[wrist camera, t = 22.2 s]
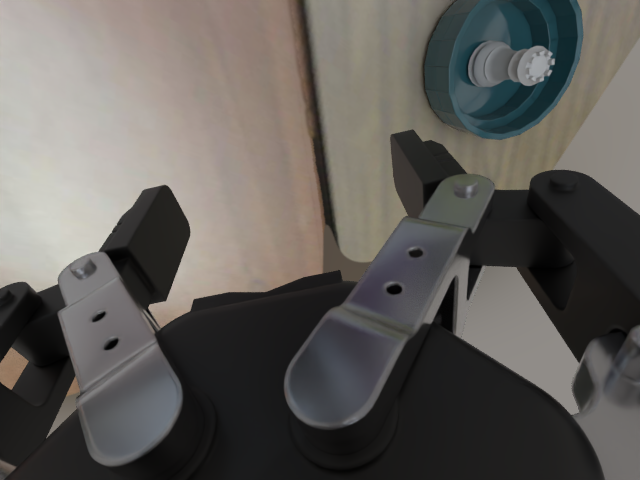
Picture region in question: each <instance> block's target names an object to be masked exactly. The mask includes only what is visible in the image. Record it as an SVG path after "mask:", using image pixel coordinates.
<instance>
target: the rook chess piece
mask: <svg viewBox="0 0 640 480" xmlns="http://www.w3.org/2000/svg"><path fill="white" fill-rule="evenodd" d="M552 54H553V53H551V52H550V51H548V50H547V49H546V48H544V47H543V46H535V47H532V48H530V49H522V50H520V51H514V50H512V49H511V48H510V47H509V46H508V45H507V44H505V43H504V42H501V41H491V40H489V41H487V42H484V43H482V44H481V45H480V46H479V47H477V48H476V49H475V51H474V52H473V54H472V56H471V58H470V61H469V65H468V73H469V77H470V79H471V81H472V83H473V84H475V85H476V86H478V87H492V86H495V85H497V84H500V83H501V82H502V81H504V80H509V79H511V80H512V81H514V82H521V83H522V84H523V85H525V86H532V85H534V84H537V83H538V82H541V81H544V76H549V75H550V74H551V72H552V70H549V67H550V65H554V63H555V59H550V57H551V55H552Z"/></svg>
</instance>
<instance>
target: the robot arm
mask: <svg viewBox="0 0 640 480" xmlns="http://www.w3.org/2000/svg"><path fill="white" fill-rule="evenodd" d="M390 142H391V154H392V166H393V177H394V183H395V187H396V191H397V193H398V195H399V197H400V199H401V202H402V204H403V206H404V208H405V210H406V212H407V214H408V216H406V217H404V218H403V219H402V220H401V221H400V223H399V224H398V226H397V227H396V228H395V230H394V231H393V233H392V234H391V236H390V237H389V238H388V240H387V241H386V243H385V244H384V246H383V247H382V249H381V250H380V251H379V253H378V254H377V256H376V257H375V259H374V260H373V261H372V263H371V264H370V266H369V267H368V269H367V270H366V271H365V273H364V274H363V276H362V277H361V279H360V280H359V281H358V282H354V281H343V280H342V276H341V272H340V270H338V271H333V272H329V273H323V274H318V275H313V276H308V277H303V278H301V279H298V280H296V281H293V282H291V283H288V284H285V285H283V286H280V287H278V288H275V289H273V290H270V291H267V292H228V293H223V294H218V295H213V296H208V297H203V298H198V299H194V301H193V304H192V308H191V311H190V312H188V313H186V314H184V315H182V316H180V317H178V318H176V319H174V320H173V321H171V322H170V323H168V324H167V325H165V326H164V327H163V328H161V326H160V325H159V323H158V322H157V320H156V319H155V317H154V315H153V314H152V313H151V311H150V310H149V309H148V307H149V304H154V303H158V302H163V301H166V300H167V297H168V294H169V292H170V289H171V286H172V284H173V281H174V278H175V275H176V273H177V270H178V267H179V265H180V262H181V259H182V257H183V254H184V251H185V248H186V246H187V243H188V240H189V238H190V226H189V223H188V221H187V219H186V217H185V215H184V213H183V211H182V209H181V207H180V205H179V204H178V202H177V200H176V198H175V196H174V194H173V192H172V191H171V189H170V188H169V187H168V186H166V185H162V186H158V187H154V188H149V189H145V190H143V191H142V193H141V195H140V196H139V198H138V199H137V201H136V202H135V204H134V205H133V207H132V208H131V209H129V210H128V211H127V212H126V213H125V214H124V215H123V216H122V217H121V219H120V220H119V222H118V223H117V226H115V228H114V229H113V231H112V233H111V234H110V235H109V237H108V238H107V239H106V241H105V242H104V244H103V245H102V247H101V248H100V250H99V251H98V252H95V253H91V254H87V255H85V256H83V257H81V258H79V259H77V260H75V261H74V262H72V263H71V264H69V265H68V266H67V267H66V268H65V269H64V270H63V271H62V272H61V273H60V275H59V277H58V284H57V285H55V286H53V287H50V288H48V289H45V290H43V291H40V292H38V293H36V292H35V291H34V290H33V289H32V288H31V287H30V286H29V285H28V284H27V283H26V282H17V283H13V284H10V285H7V286H5V287H3V288H1V289H0V362H1V361H2V359H3V358H4V356H5V355H6V354H7V352H8V351H9V349H10V348H11V347H12V348H13V349H15V350H16V351H17V352H18V353H20V354H21V355H22V356H23V357H25V358H26V359H27V360H28V361H29V362H28V364H27V366H26V367H25V369H24V370H23V372H22V374H21V375H20V377H19V379H18V380H17V382H16V384H15V385H14V387H13V389H12V390H10V389H9V388H7V387H6V386H4V385H3V384H2V383H1V382H0V480H640V215H639V214H638V213H636V212H635V211H633V210H632V209H631V208H630V207H628V206H627V205H626V204H625V203H623V202H622V201H621V200H620V199H618V198H617V197H616V196H614V195H613V194H612V193H611V192H609V191H608V190H607V189H606V188H604V187H603V186H602V185H600V184H599V183H598V182H596V181H595V180H594V179H593V178H591V177H589V176H587V175H585V174H583V173H579V172H575V171H569V170H551V171H545V172H542V173H539V174H537V175H535V176H534V177H533V178H532V179H531V181H530V186H529V190H495V185H494V183H493V182H492V181H491V180H490V179H488V178H486V177H484V176H481V175H476V174H467V173H466V171H465V170H464V169H463V168H462V167H461V166H460V165H459V163H458V162H457V161H456V160H455V159H454V158H453V157H452V155H451V154H450V153H448V151H447V150H446V148H445V147H444V146H443V145H441V144H439V143H437V142H434V141H432V140H429V141H425V142H422V140H421V139H420V138H419V136H418V135H417V134H416V133H415V131H414V130H408V131H404V132H400V133H395V134H391V137H390ZM486 266H504V267H517V269H518V271H519V272H520V274H521V275H522V277H523V278H524V280H525V282H526V283H527V285H528V286H529V288H530V289H531V291H532V292H533V294H534V295H535V297H536V298H537V300H538V301H539V303H540V304H541V306H542V307H543V309H544V310H545V312H546V313H547V315H548V316H549V318H550V320H551V321H552V323H553V324H554V326H555V327H556V329H557V330H558V332H559V333H560V335H561V336H562V338H563V339H564V341H565V342H566V344H567V346H568V347H569V348H570V350H571V351H572V353H573V355H574V356H575V358H576V359H577V361H578V362H579V366H578V368H577V370H576V373H575V375H574V377H573V380H572V393H573V396H574V398H575V401H576V403H577V406H578V409H579V413H577V414H574V415H570V413H569V412H568V411H567V410H566V409H565V408H564V407H563V406H562V405H561V404H560V403H559V402H557V401H556V400H555V399H554V398H553V397H552V396H550V395H549V394H548V393H546V392H545V391H544V390H542V389H540V388H539V387H538V386H536V385H535V384H533V383H531V382H530V381H528V380H527V379H525V378H523V377H522V376H520V375H519V374H517V373H515V372H514V371H512V370H511V369H509V368H507V367H506V366H504V365H503V364H501V363H499V362H498V361H496V360H495V359H493V358H491V357H490V356H488V355H487V354H485V353H483V352H482V351H480V350H479V349H477V348H475V347H474V346H472V345H470V344H469V343H467V342H466V341H464V340H462V339H461V337H462V334H463V330H464V325H465V320H466V316H467V313H468V310H469V307H470V305H471V303H472V300H473V297H474V295H475V292H476V290H477V288H478V285H479V283H480V280H481V277H482V275H483V273H484V270H485V267H486ZM75 375H76V378H77V382H78V385H79V388H80V395H79V396H78V397H77V398H76V407H77V409H76V410H75V411H74V412H73V413H72V414H71V415H70V416H69V417H68V418H67V419H66V420H65V421H64V422H63V423H62V424H61V425H60V426H59V427H58V428H57V429H56V430H55V431H54V432H53V433H52V434H51V435H50V436H48V438H46V437H47V435H48V433H49V431H50V429H51V427H52V424H53V422H54V420H55V418H56V416H57V414H58V412H59V409H60V407H61V405H62V403H63V401H64V399H65V397H66V395H67V392H68V390H69V388H70V386H71V384H72V382H73V380H74V377H75Z"/></svg>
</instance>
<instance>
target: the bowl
mask: <svg viewBox="0 0 640 480" xmlns="http://www.w3.org/2000/svg"><path fill="white" fill-rule="evenodd" d="M489 40H491V41H501V42H504V43H505V44H507V45H508V46H509V47H510V48H511V49H512V50H514V51H520V50H522V49H530V48H532V47H535V46H543V47H544V48H546V49H547V50H548V51H550V52H551V53H553V54H552V55H551V57H550V59H555V63H554V65H550V67H549V70H552V72H551V74H550V75H549V76H544V81H541V82H538V83H537V84H534V85H532V86H525V85H523V84H522V83H521V82H514V81H512V80H511V79H509V80H504V81H502V82H501V83H500V84H497V85H495V86H492V87H478V86H476V85H475V84H473V83H472V81H471V79H470V77H469V73H468V65H469V61H470V58H471V56H472V54H473V52H474V51H475V49H476V48H477V47H479V46H480V45H481V44H482V43H484V42H487V41H489ZM582 41H583V23H582V13H581V9H580V6H579V4H578V2H577V0H456V1H455V2H454V3H453V4H452V6H451V7H450V8H449V9H448V10H447V11H446V13H445V14H444V15H443V16H442V17H441V19H440V21H439V23H438V25H437V27H436V29H435V31H434V33H433V35H432V37H431V39H430V42H429V46H428V51H427V55H426V60H425V64H424V71H425V90H426V93H427V96H428V99H429V102H430V105H431V108H432V109H433V110H434V112H435V113H436V114H437V115H438V116H439V118H440V119H441V120H442V121H443V122H444V123H446V124H447V125H449V126H451V127H453V128H455V129H457V130H459V131H462V132H466V133H469V134H472V135H475V136H478V137H481V138H486V139H497V140H502V139H506V138H509V137H513V136H517V135H520V134H522V133H523V132H525V131H527V130H528V129H530V128H532V127H533V126H535V125H536V124H538V123H539V122H540V121H541V120H542V119H543V118H544V117H545V116H546V115H547V114H548V113H549V112H550V111H551V110H552V109H553V108H554V107H555V106H556V105H557V103H558V102H559V100H560V99H561V97H562V96H563V94H564V93H565V91H566V90H567V88H568V86H569V84H570V83H571V80H572V77H573V75H574V72H575V70H576V67H577V65H578V62H579V60H580V53H581V47H582Z"/></svg>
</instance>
